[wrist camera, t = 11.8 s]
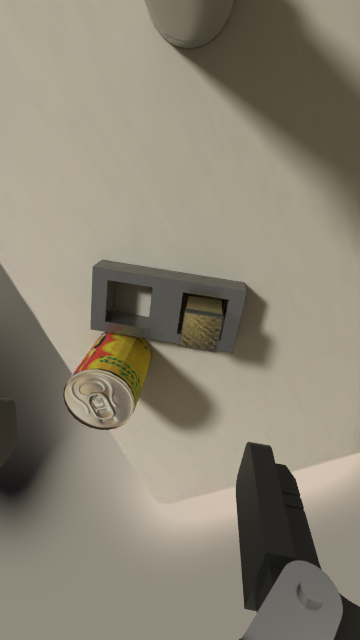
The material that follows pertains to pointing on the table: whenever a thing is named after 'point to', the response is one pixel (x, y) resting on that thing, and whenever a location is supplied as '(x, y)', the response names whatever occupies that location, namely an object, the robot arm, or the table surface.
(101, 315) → the cinder block
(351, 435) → the table surface
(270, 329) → the table surface
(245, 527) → the robot arm
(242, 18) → the table surface
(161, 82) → the table surface
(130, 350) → the beverage can
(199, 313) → the tan banded block
